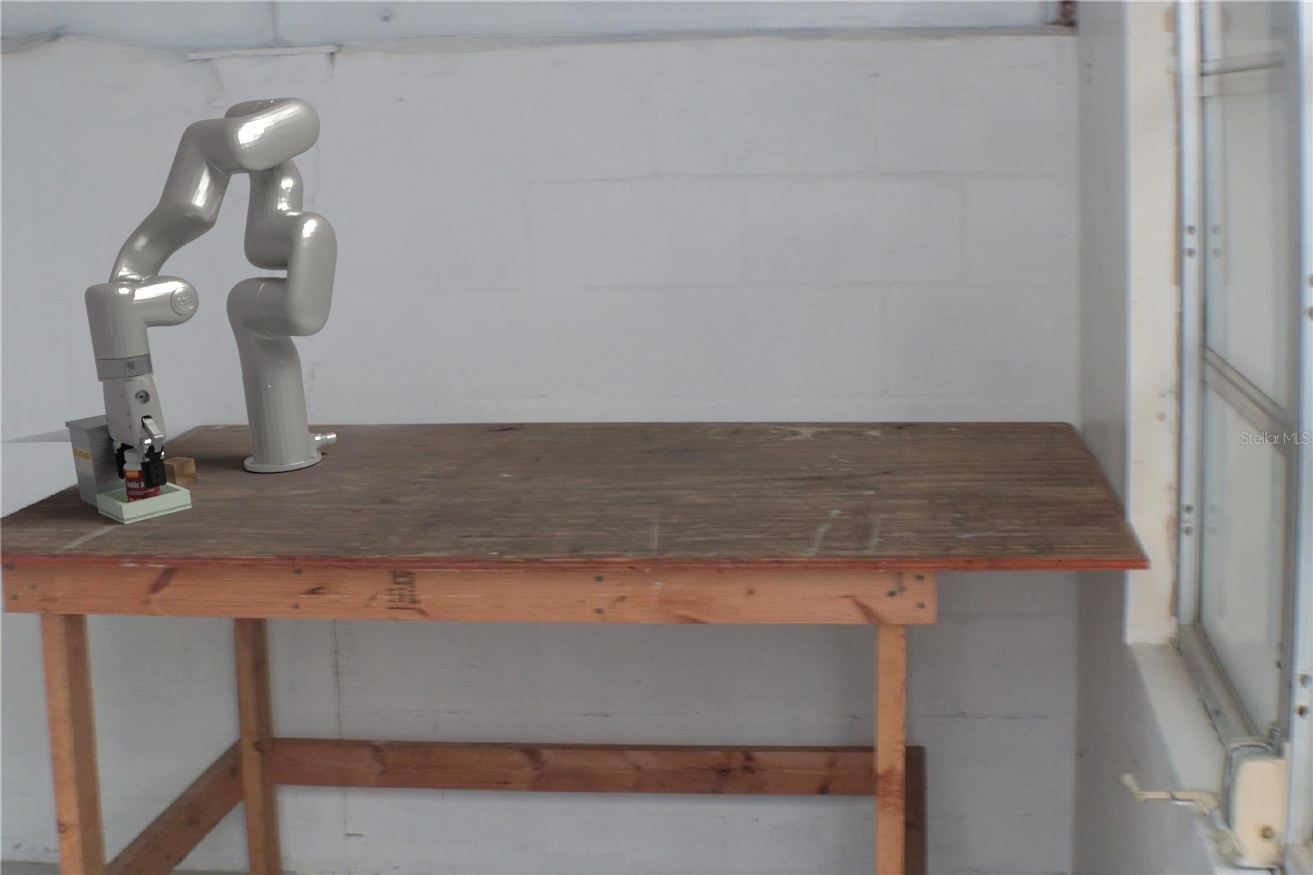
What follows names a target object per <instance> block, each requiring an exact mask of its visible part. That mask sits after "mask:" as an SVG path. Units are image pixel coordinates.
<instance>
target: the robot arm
mask: <svg viewBox="0 0 1313 875" xmlns="http://www.w3.org/2000/svg"><path fill="white" fill-rule="evenodd" d="M320 131H321V122H320V117H319V114H318V112H317V111H316V109H315V107H313V106H312V105H311V104H310V103H309V102H307V100H304V99H302V98H298V97H279V98H269V99H268V98H266V99H256V100H247V101H241V102H239V103H236V104H233V105H232V106H230V107H229V108H228V109H227V111H226V112H225V114H224V116H223V117H221V118H220V117H219V118H218V117H217V118H208V119H202V120H198V121H194V122H192V123H191V124H190V125H188V126H187V128H186V129H185V130H184V131H183V134H182V136H181V138H180V141H179V144H178V147H177V150H176V153H175V155H174V158H173V162H172V164H171V168H170V169H169V172H168V176H167V179H166V182H165V184H164V187H163V190H162V193H161V197H160V198H159V201H158V203H157V205H156V206H155V208H154V209H153V210H152V211H151V212H150V213H148V215H147V216H146V217H145V218H144V219H143V220H142V221H141V223H139V224H138V226H137V227H136V228H135V229H134V231H132V233H131V234H130V235H129V237H128V238H127V239H126V240H125V242H124V243H123V245H122V246H121V248H120V249H119V251H118V254H117V256H116V257H115V258H116V259H115V261H114V264H113V266H112V269H111V271H110V276H109V278H108V282H105V283H98V284H94V285H91V286H88V288H86V290H85V292H84V303H85V308H86V314H87V319H88V320H87V321H88V326H89V333H90V338H91V344H92V350H93V355H94V356H93V357H94V361H95V362H94V363H95V369H96V375H97V381H98V382H100V383H102V390H103V391H102V392H103V401H104V402H103V403H104V410H105V414H106V419H107V424H108V429H109V433H110V436H111V440H112V441H113V450H114V452H115V453H116V454H115V458H116V464H117V471H118V477H119V478H120V479H125V476H124V469H123V468H124V465H125V464H126V463H127V461H125V454H124V452H125V451H126V450H128V449H132V448H134V447H137V448H138V450H139V453H140V455H141V457H142V460H143V462H140V463H141V470H142V476H143V482H144V487H145V488H147V489H150V488H154V487H158V486H162V485H166V484H167V479H166V472H165V466H164V460H165V454H164V448H165V446H164V443H163V442H165V440H166V439H167V433H166V432H167V431H166V426H165V422H164V417H163V413H162V411H163V410H162V407H161V402H160V398H159V395H158V394H159V393H158V390H157V388H156V383H155V382H154V379H153V376H154V369H153V368H154V367H153V361H152V357H151V349H150V343H149V336H148V331H147V329H148V328H152V327H153V328H154V327H175V326H180V325H182V324H184V323H186V322H188V321H190V320H191V319H192V318H193V317H194V316H195V314H196V313H197V310H198V308H199V304H200V303H199V302H200V299H199V295H198V292H197V290H196V288H195V287H194V286H193V285H192V284H191V282H189V281H188V280H186V279H184V278H182V277H179V276H175V275H163V274H162V275H159V272H160V271H161V269H162V267H163V266H164V264H165V263H166V262H167V260H168V259H169V258H170V257H171V256H172V255H173V254H175V253H176V252H177V251H178V250H180V249H182V248H183V247H184V246H186V245H187V244H190V243H191V242H194V241H195V240H197V239H198V238H200V237H202V236H203V235H205V234H207V232H209V231H210V230H212V228H214V226H215V225H216V222H217V220H218V217H219V213H220V210H221V207H222V204H223V201H224V198H225V195H226V192H227V189H228V186H229V184H230V180H231V177H232V176H233V175H237V174H238V175H239V174H241V175H242V174H248V178H249V185H250V186H249V196H248V197H249V198H248V208H247V214H246V215H247V216H246V221H245V222H246V223H245V231H244V238H243V239H244V240H243V250H244V254H245V258H246V259H247V261H248V263H250V264H251V265H252V266H253V267H255V268H258V269H261V270H266V271H286V277H280V276H276V277H275V276H265V277H264V276H259V277H250V278H245V279H243V280H240V281H239V282H237V283H236V284H235V285H234V286H233V287H232V288H231V289H230V291H229V292H228V295H227V299H226V313H227V319H228V321H229V324H230V328H231V330H232V332H233V336H234V339H235V342H236V348H237V351H238V355H239V363H240V368H241V375H242V376H241V377H242V385H243V391H244V393H243V394H244V398H245V399H244V400H245V407H246V415H247V421H248V422H247V423H248V428H249V436H250V444H251V450H252V455H251V456H249V457H247V458H245V460H244V462H243V463H244V469H245V470H247V471H249V472H250V471H251V472H254V473H279V472H288V471H293V470H294V471H295V470H298V469H303V468H307V467H310V466H313V465H315V464H318V463H319V462H320V461H321V460H322V453H321V451H320V450H318V449H320V448H321V447H322V446H324V445H331V444H334V443H336V442H337V435H336V433H335V432H334V431H331V432H326V433H323V434H321V432H319V433H314V432H310V431H309V430H310V428H309V421H308V415H307V413H308V412H307V405H306V398H305V396H306V395H305V390H304V388H305V387H304V381H303V380H304V379H303V372H302V363H301V357H300V354H299V351H298V349H297V347H296V344H295V343H294V341H293V339H292V338H291V337H310V336H314V335H316V334H318V333H319V332H320V331H321V330H322V329H324V327H325V326H326V324H327V321H328V318H329V316H330V311H331V306H332V300H333V291H334V284H335V283H334V282H335V277H336V276H335V275H336V268H337V267H336V266H337V258H338V241H337V237H336V233H335V229H334V228H333V226H332V225H331V222H330V221H329V220H328V219H327V218H325V216H323V215H321V214H320V213H317V212H313V211H304V210H303V206H304V205H303V203H304V182H303V177H302V176H301V175H302V174H301V172H300V170H299V168H298V167H297V165H296V163H295V161H294V160H293V159H292V158H295V157H297V156H300V155H301V154H303V153H305V152H308V150H310V149H311V148H312V147H314V145H315V143H316V142H317V141H318V139H319V136H320ZM141 440H144V441H141ZM145 447H148V451H147V452H146V449H145Z"/></svg>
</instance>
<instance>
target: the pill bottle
mask: <svg viewBox="0 0 1313 875" xmlns="http://www.w3.org/2000/svg"><path fill="white" fill-rule="evenodd" d="M148 447H149V446H148ZM148 447H145V449H146V452H147V451H148ZM124 454H125V461H127V463H126V464H125V465H124V468H123V469H124V476H125V486H126V494H127V503H130V502H134V501H139V500H143V499H147V498H151V497H156V496H160V495H161V492H160V486H158V487H154V488H150V489H147V488H145V487H144V482H143V476H142V470H141V463H140V462H143V460H142V457H141V455H140V453H139V450H138V448H132V449H128V450H126V451H125V452H124Z"/></svg>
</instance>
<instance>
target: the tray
mask: <svg viewBox="0 0 1313 875" xmlns="http://www.w3.org/2000/svg"><path fill="white" fill-rule="evenodd" d="M160 492H161V495H160V496H156V497H151V498H147V499H143V500H139V501H134V502H130V503H127V494H126V488H123V489H118V490H114V491H109V492H105V493H101V494H96V499H97V505H98V507H97V508H98V509H97V510H98V513H100V514H101V515H103V516H106V517H107V518H110V519H113V521H114V520H115V521H117V522H119V523H121V524H123V525H128V524H132V523H136V522H140V521H143V520H148V519H153V518H156V517H160V516H164V515H169V514H172V513H177V512H180V511H184V510H188V509H192V507H193V506H192V500H191V499H192V498H191V494H190V489H188V488H185V487H184V486H183V487H180V486H177V485H174V484H172V483H169V482H167V484H166V485H162V486H160Z"/></svg>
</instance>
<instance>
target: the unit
mask: <svg viewBox="0 0 1313 875" xmlns="http://www.w3.org/2000/svg"><path fill="white" fill-rule="evenodd" d="M64 423H65V428H68V432H69V439H70V443H71V448H72V455H73V460H74V466H75V472H76V473H75V474H76V479H77V483H78V490H79V495H80V500H81V501H82V502H85V503H87V504H89V505H92V506H93V507H96V508H98V505H97V499H96V494H101V493H105V492H109V491H114V490H118V489H123V488H126V486H125V479H120V478H119V477H118V471H117V464H116V458H115V454H116V453H115V452H114V450H113V441H112V440H111V436H110V433H109V429H108V424H107V419H106V413H105V414H101V415H95V416H91V417H83V418H78V419H74V420H68V421H65V422H64ZM141 441H145V440H141ZM134 448H137V447H134Z"/></svg>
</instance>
